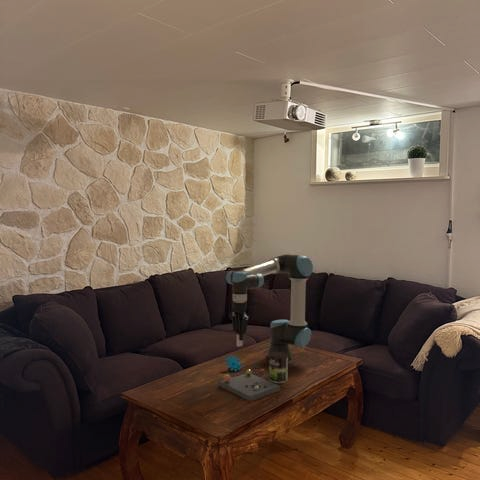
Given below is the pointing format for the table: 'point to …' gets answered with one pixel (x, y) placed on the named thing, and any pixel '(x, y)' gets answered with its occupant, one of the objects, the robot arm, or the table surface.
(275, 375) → the coffee can
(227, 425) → the table surface
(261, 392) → the plate
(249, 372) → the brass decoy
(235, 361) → the gear
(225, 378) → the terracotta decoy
